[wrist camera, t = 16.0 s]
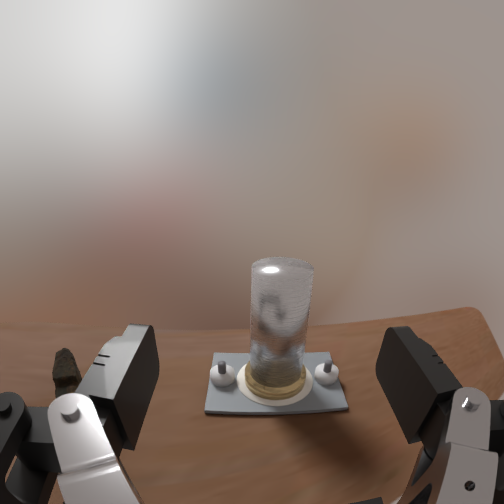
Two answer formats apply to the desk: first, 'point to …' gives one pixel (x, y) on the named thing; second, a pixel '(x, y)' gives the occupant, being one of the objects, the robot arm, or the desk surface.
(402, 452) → the desk surface
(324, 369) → the board
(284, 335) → the clear glass cylinder
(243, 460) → the desk surface
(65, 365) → the hand tool
